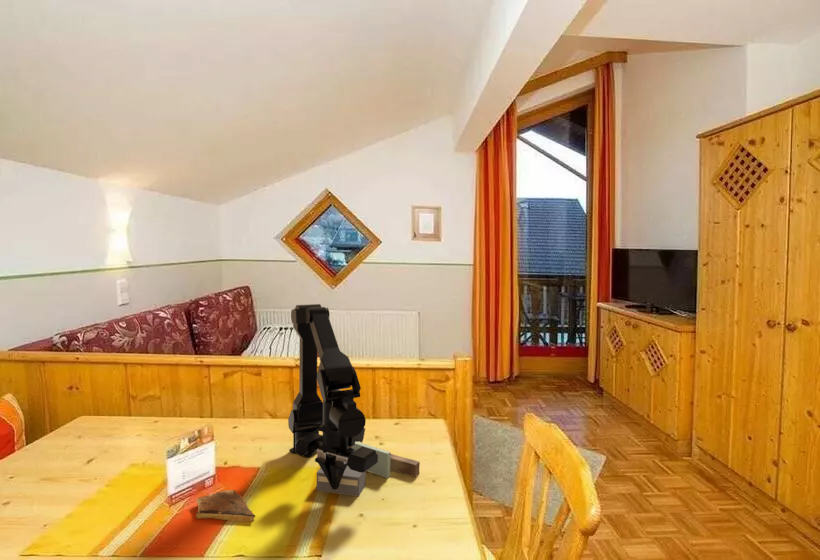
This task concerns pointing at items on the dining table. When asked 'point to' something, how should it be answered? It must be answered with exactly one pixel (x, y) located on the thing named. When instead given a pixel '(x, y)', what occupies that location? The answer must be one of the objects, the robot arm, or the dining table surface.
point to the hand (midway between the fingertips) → (335, 488)
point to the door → (383, 460)
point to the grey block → (343, 482)
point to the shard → (224, 507)
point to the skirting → (404, 465)
